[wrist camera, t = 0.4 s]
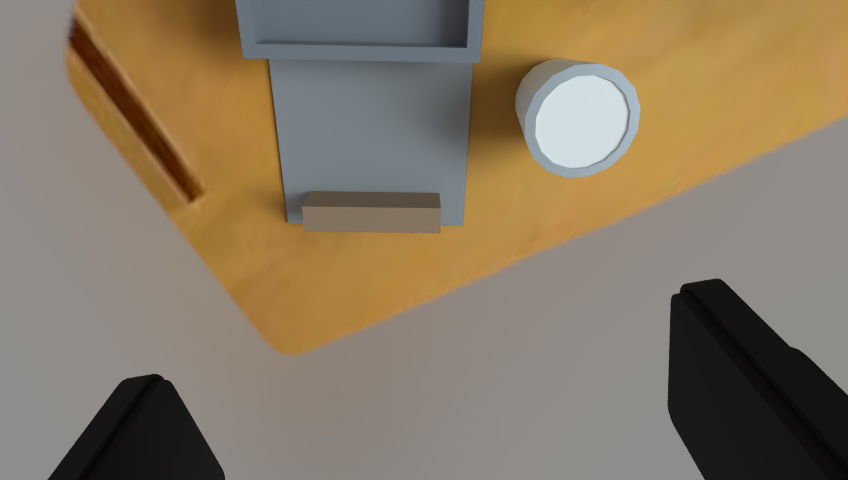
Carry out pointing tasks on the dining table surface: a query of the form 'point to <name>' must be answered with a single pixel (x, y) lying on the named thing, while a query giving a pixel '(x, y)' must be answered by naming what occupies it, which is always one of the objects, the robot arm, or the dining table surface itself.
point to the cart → (362, 30)
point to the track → (373, 143)
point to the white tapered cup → (576, 116)
